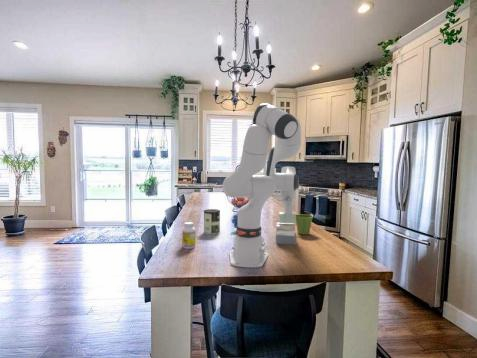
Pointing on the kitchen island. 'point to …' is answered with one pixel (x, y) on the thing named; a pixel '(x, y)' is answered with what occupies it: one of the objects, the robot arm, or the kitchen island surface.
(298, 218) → the plant pot
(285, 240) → the grey base block
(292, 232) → the cream top block
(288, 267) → the kitchen island surface
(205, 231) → the coffee can
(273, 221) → the kitchen island surface
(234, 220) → the grapes
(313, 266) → the kitchen island surface
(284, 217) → the sage brick
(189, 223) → the supplement bottle
